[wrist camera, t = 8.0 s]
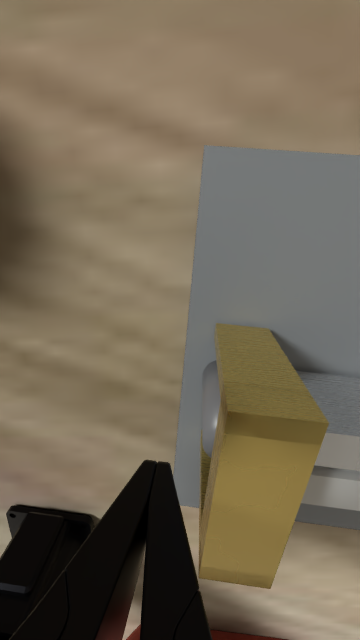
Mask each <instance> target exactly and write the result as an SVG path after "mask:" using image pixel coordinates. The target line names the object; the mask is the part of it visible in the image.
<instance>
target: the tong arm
mask: <svg viewBox="0 0 360 640" xmlns="http://www.w3.org/2000/svg"><path fill="white" fill-rule="evenodd" d="M296 372H297V374H298V375H299V377H300V378H301V380H302V381H303V383H304V385H305V386H306V388H307V389H308V391H309V392H310V394H311V396H312V397H313V399H314V400H315V402H316V403H317V405H318V406H319V408H320V410H321V411H322V413H323V414H324V416H325V417H326V419H327V421H328V422H329V425H328V428H327V431H326V434H325V436H324V439H323V442H322V445H321V448H320V450H319V453H318V456H317V459H316V462H315V464H314V465H316V466H324V467H331V468H339V469H346V470H354V471H360V378H356V377H348V376H339V375H330V374H321V373H313V372H304V371H296Z"/></svg>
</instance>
